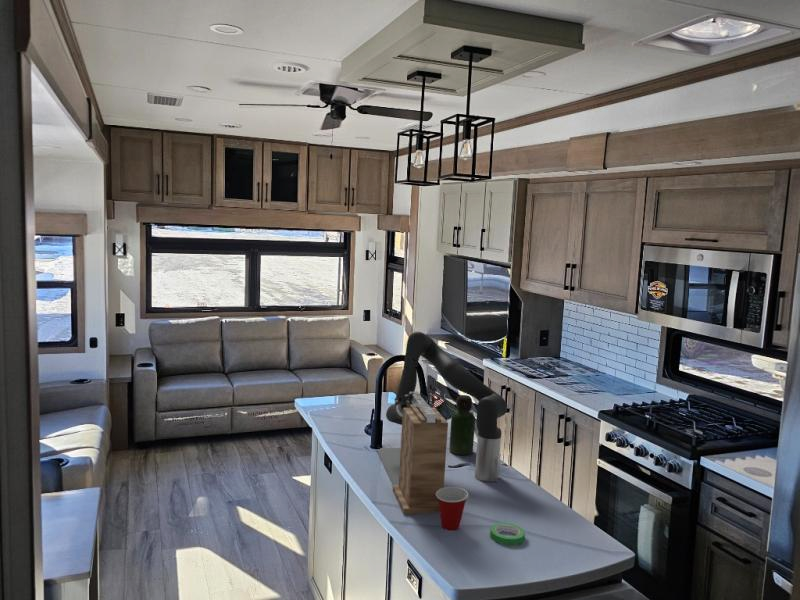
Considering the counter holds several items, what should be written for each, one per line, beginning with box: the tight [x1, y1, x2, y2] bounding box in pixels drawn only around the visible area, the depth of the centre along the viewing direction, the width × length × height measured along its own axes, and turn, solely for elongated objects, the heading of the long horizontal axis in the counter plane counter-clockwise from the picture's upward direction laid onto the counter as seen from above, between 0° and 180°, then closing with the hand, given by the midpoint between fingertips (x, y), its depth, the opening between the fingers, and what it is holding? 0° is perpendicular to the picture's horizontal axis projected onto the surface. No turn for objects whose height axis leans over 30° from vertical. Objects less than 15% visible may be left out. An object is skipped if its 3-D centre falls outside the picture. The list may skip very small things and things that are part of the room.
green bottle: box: [448, 394, 476, 456], centre depth 290 cm, size 10×10×25 cm
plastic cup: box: [436, 486, 469, 532], centre depth 219 cm, size 11×11×12 cm
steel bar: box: [409, 391, 436, 423], centre depth 239 cm, size 28×3×3 cm, turn 12°
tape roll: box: [489, 522, 526, 547], centre depth 215 cm, size 11×11×3 cm
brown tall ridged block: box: [392, 405, 449, 515], centre depth 237 cm, size 20×16×33 cm
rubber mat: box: [376, 447, 401, 486], centre depth 270 cm, size 42×14×1 cm, turn 12°
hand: (416, 395), depth 247 cm, fingers closed on steel bar, 3 cm apart
